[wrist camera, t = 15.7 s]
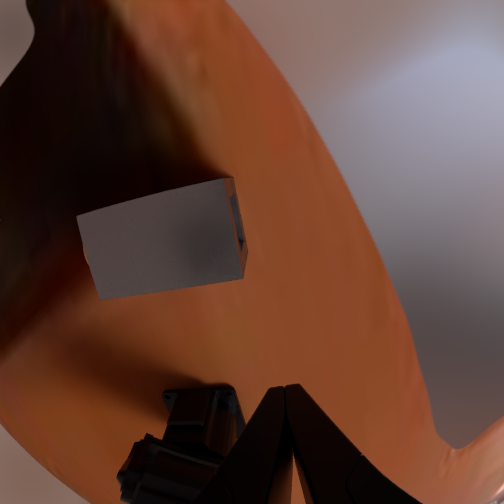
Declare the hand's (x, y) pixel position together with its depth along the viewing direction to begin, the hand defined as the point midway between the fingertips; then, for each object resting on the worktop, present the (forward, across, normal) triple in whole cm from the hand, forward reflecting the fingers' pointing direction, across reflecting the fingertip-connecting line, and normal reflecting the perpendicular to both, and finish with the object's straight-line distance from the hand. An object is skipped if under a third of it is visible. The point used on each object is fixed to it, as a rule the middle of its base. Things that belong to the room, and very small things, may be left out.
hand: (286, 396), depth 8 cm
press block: (+13, +6, -4) cm, 15 cm away
